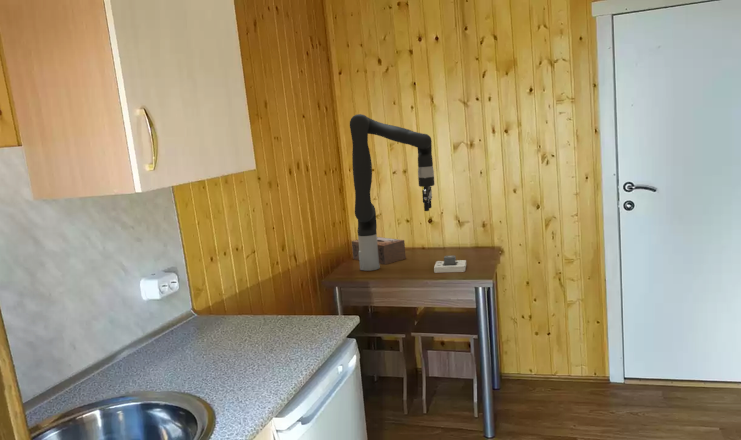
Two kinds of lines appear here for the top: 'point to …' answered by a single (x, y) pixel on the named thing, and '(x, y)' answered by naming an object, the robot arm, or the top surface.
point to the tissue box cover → (385, 250)
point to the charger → (449, 260)
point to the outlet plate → (450, 267)
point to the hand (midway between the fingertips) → (428, 209)
